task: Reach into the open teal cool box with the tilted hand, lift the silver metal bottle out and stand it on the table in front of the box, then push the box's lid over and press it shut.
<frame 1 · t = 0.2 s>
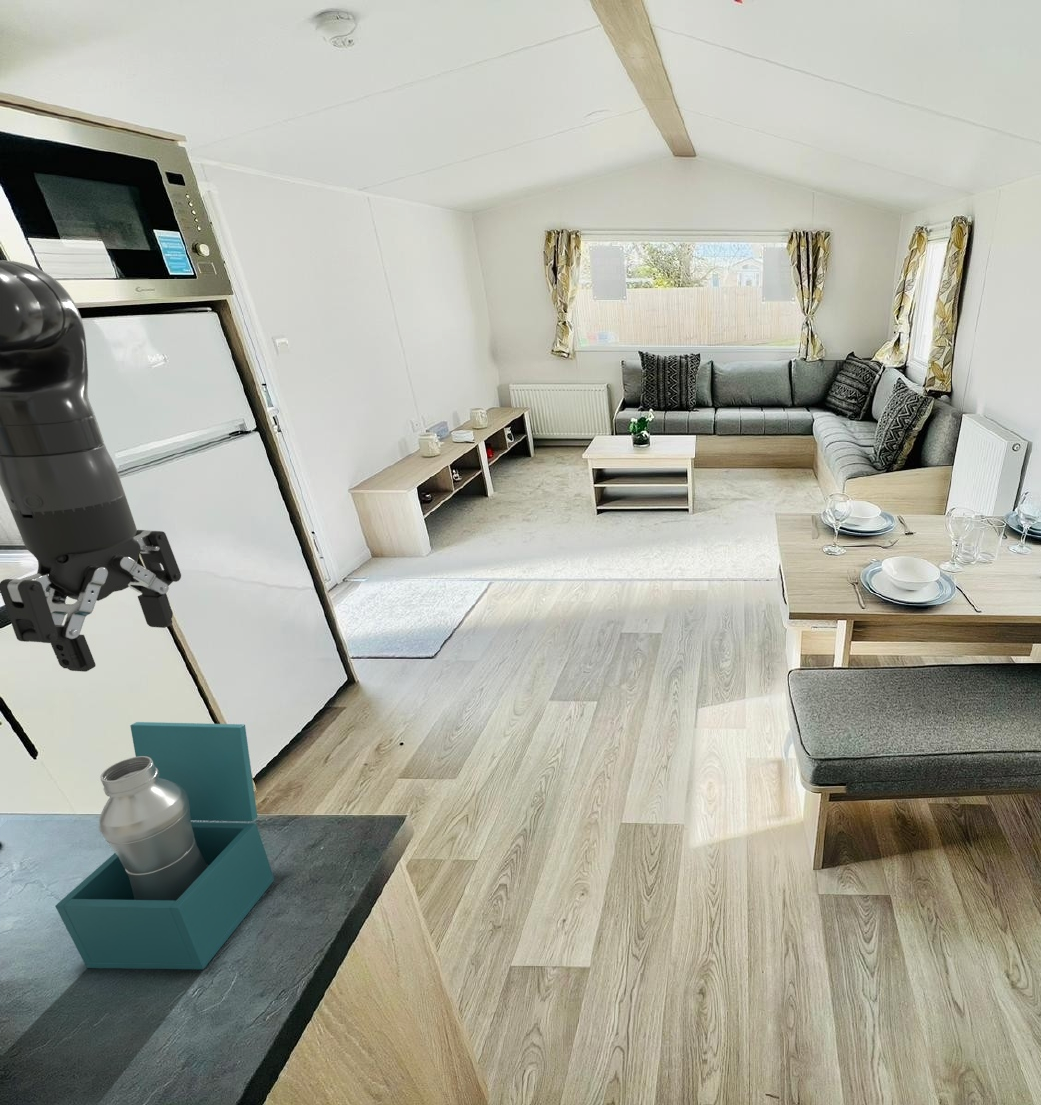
hand: (123, 646, 63), 30 cm above the counter, tool pointing down, fingers open, 8 cm apart
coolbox: (187, 920, 67), on the counter
silver metal bottle: (186, 916, 67), point 1 cm above the counter, touching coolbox
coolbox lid: (195, 772, 68), point 15 cm above the counter, hinge at 100.0°
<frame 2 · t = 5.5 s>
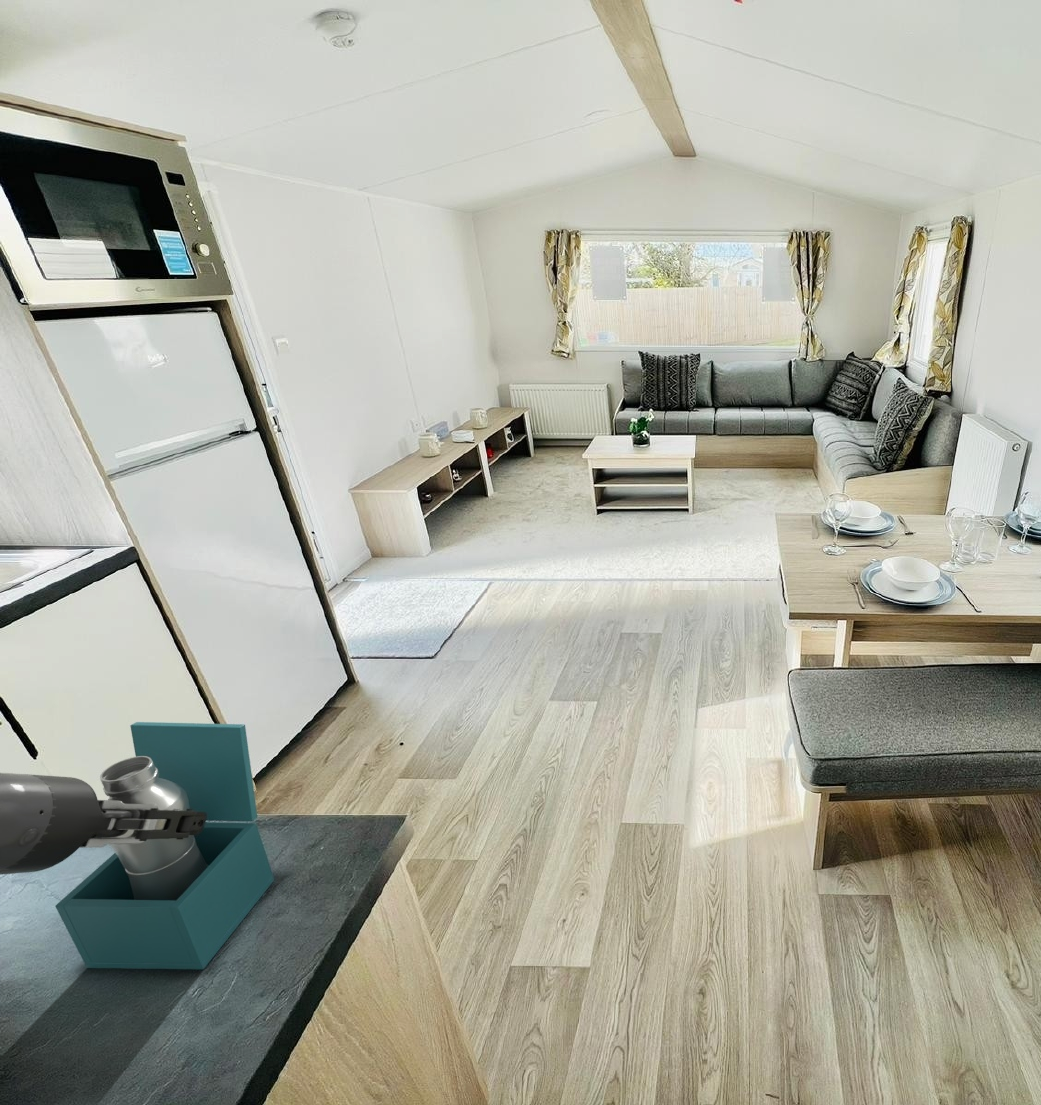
hand: (166, 822, 64), 12 cm above the counter, tool tilted 45°, fingers closed on silver metal bottle, 6 cm apart
silver metal bottle: (186, 916, 67), point 1 cm above the counter, touching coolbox, gripper
everything else where it was.
when the fingers open (12 cm above the counter, at t = 16.1 s): silver metal bottle stays where it is, on the counter.
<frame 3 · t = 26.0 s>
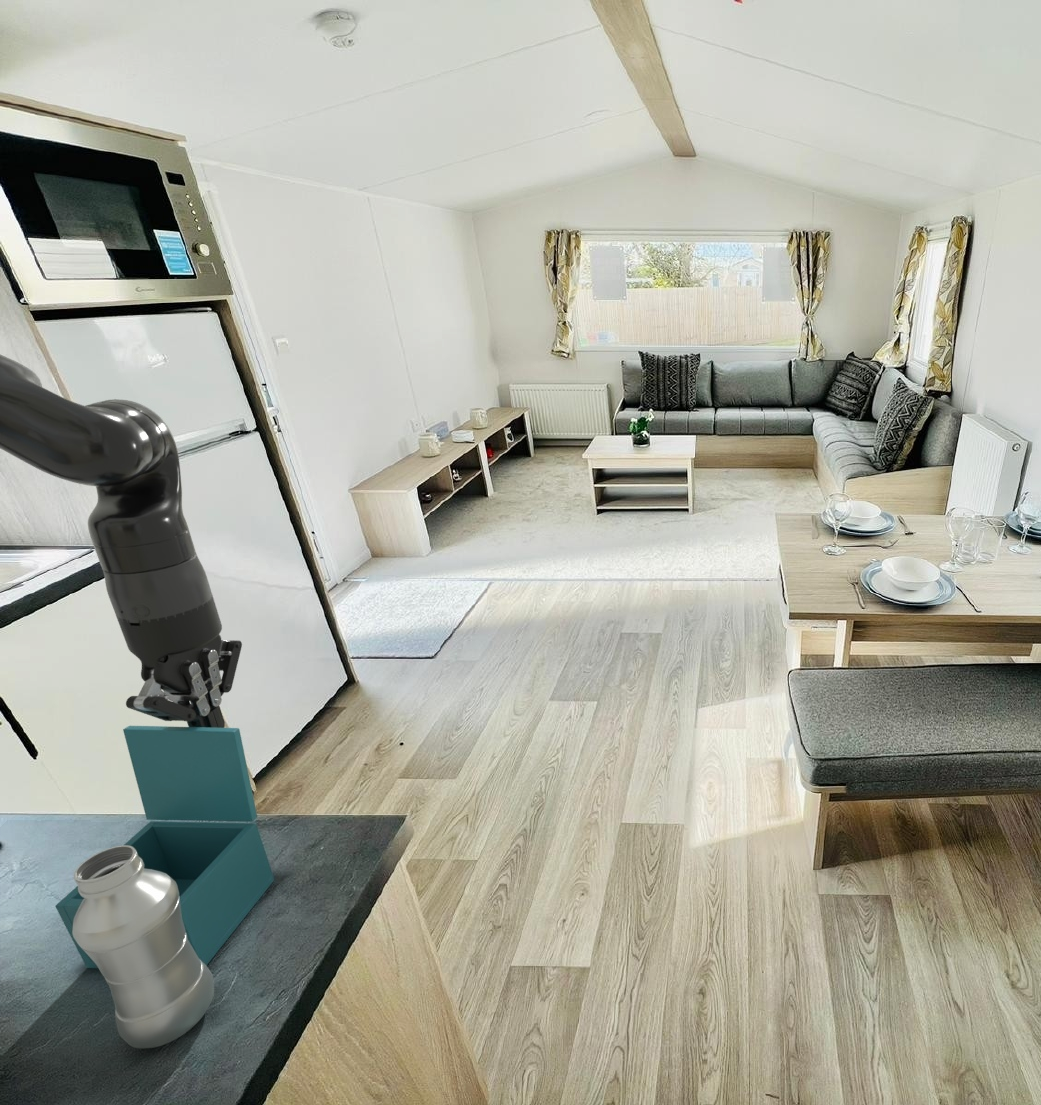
hand: (211, 737, 70), 17 cm above the counter, tool pointing down, fingers closed
silver metal bottle: (176, 1022, 58), on the counter
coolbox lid: (192, 774, 67), point 15 cm above the counter, hinge at 95.8°, touching gripper
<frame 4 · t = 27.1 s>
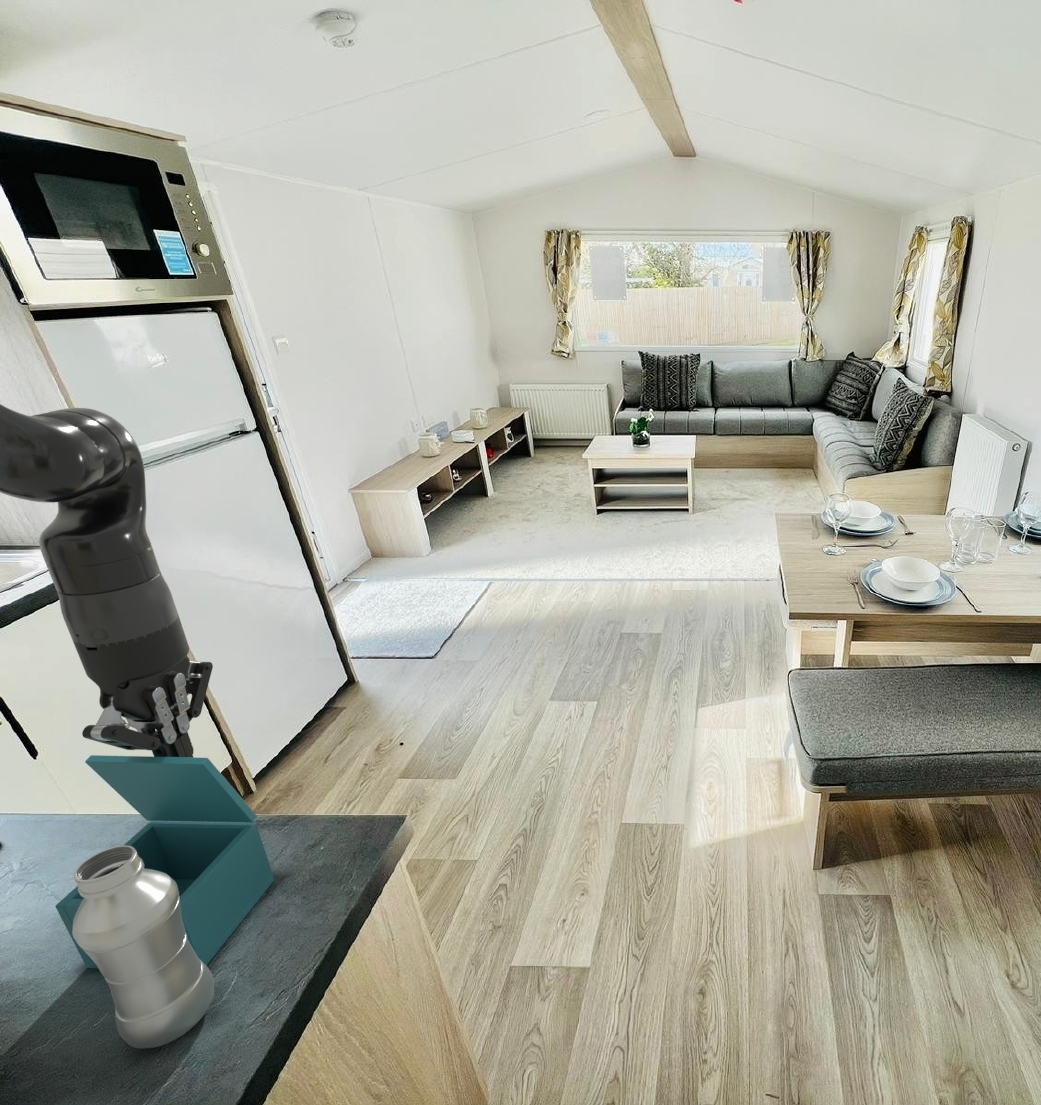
hand: (178, 765, 66), 17 cm above the counter, tool pointing down, fingers closed
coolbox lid: (176, 790, 65), point 15 cm above the counter, hinge at 73.4°, touching gripper
everything else where it was.
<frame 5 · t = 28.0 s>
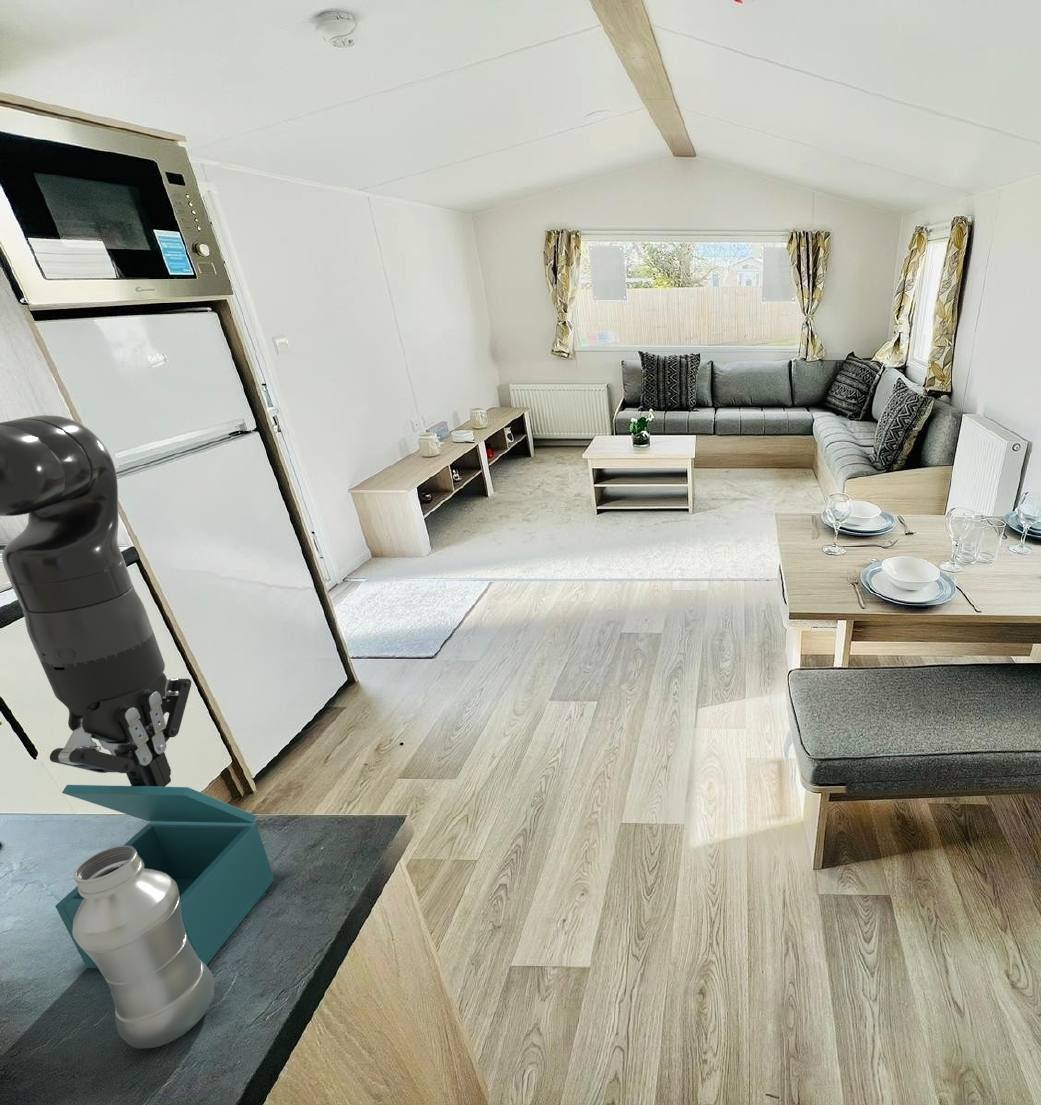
hand: (155, 787, 63), 17 cm above the counter, tool pointing down, fingers closed
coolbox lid: (166, 805, 64), point 14 cm above the counter, hinge at 57.9°, touching gripper
everything else where it was.
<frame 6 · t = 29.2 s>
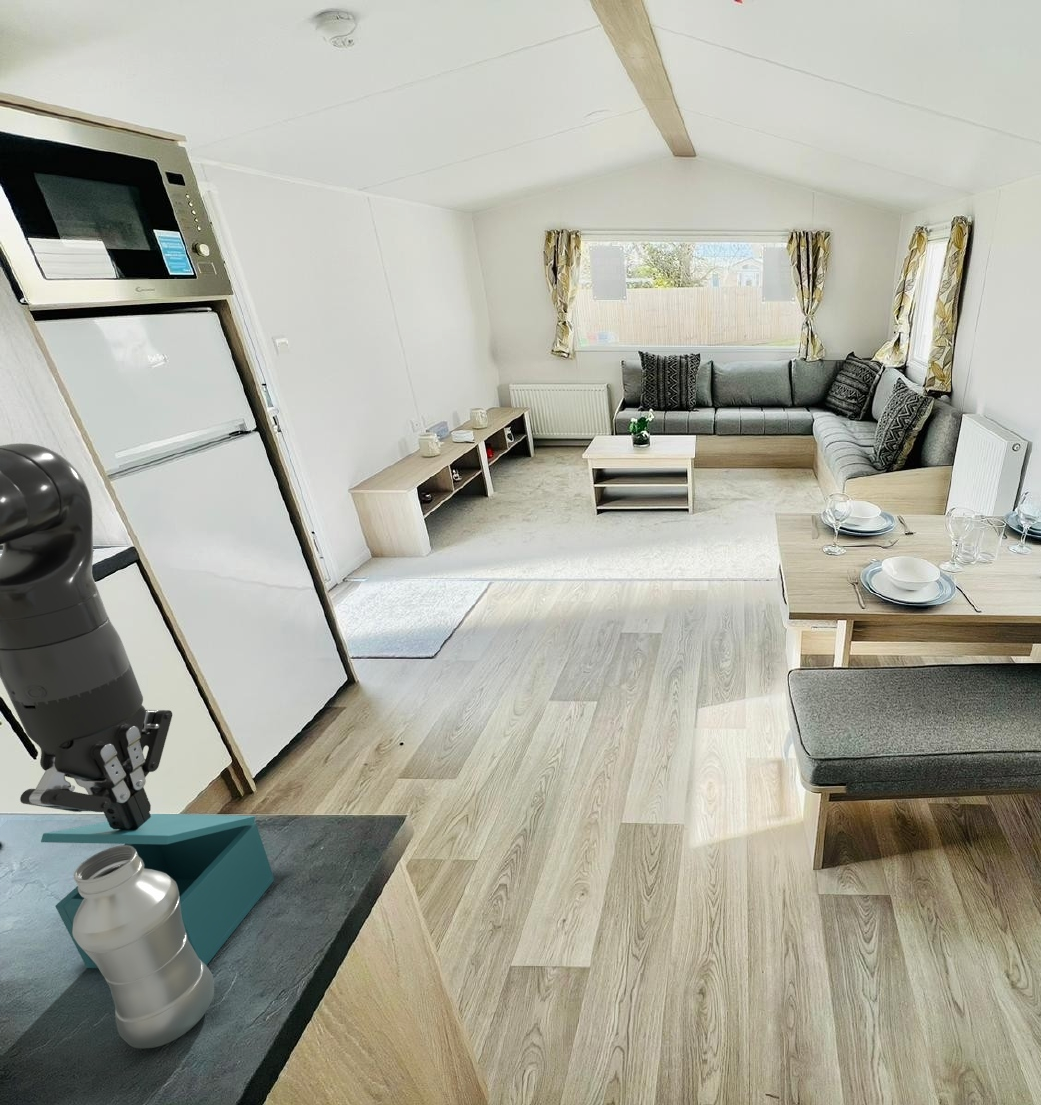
hand: (134, 824, 61), 15 cm above the counter, tool pointing down, fingers closed
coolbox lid: (157, 827, 63), point 13 cm above the counter, hinge at 36.0°
everything else where it was.
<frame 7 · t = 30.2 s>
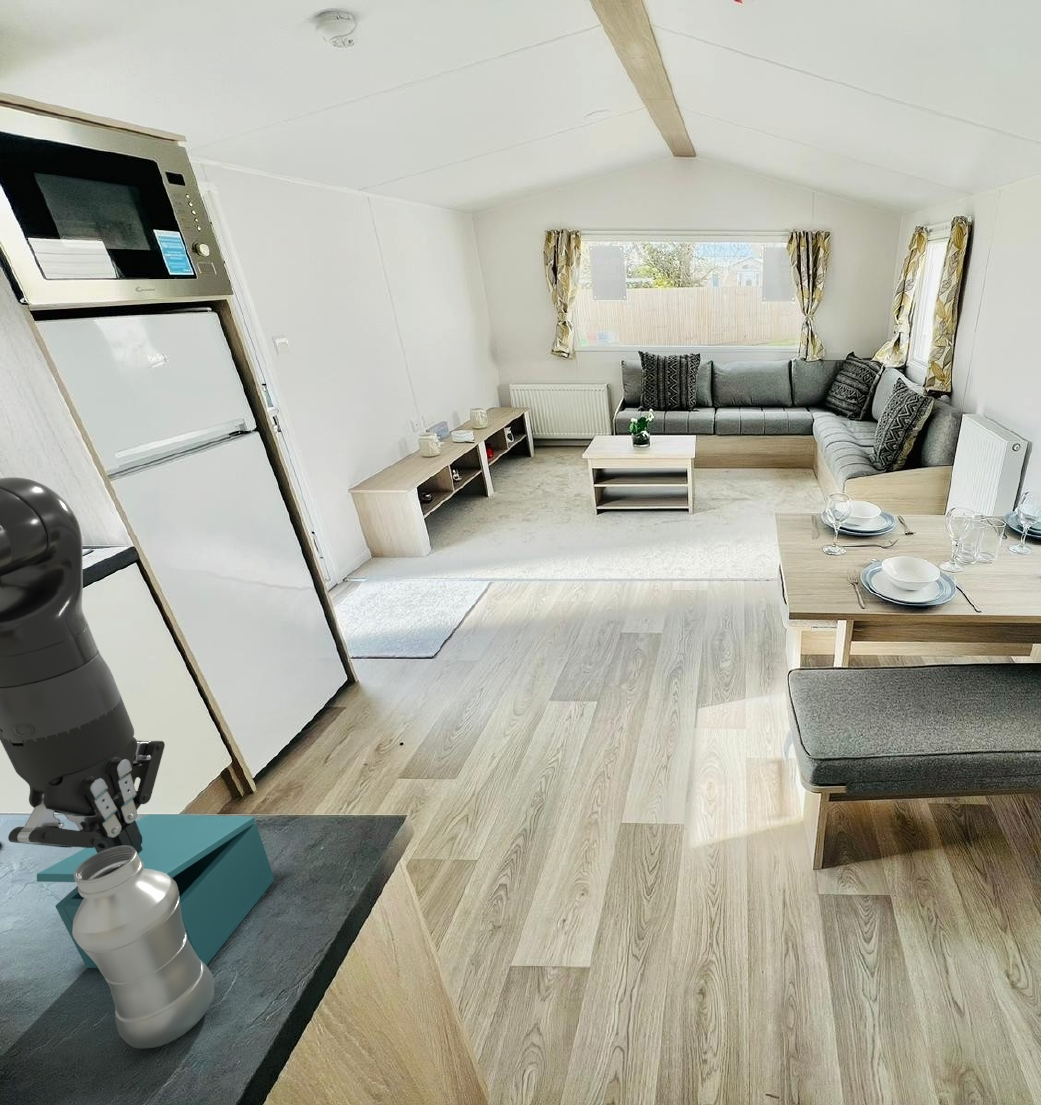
hand: (125, 857, 60), 13 cm above the counter, tool pointing down, fingers closed
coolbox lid: (155, 846, 63), point 11 cm above the counter, hinge at 17.8°
everything else where it was.
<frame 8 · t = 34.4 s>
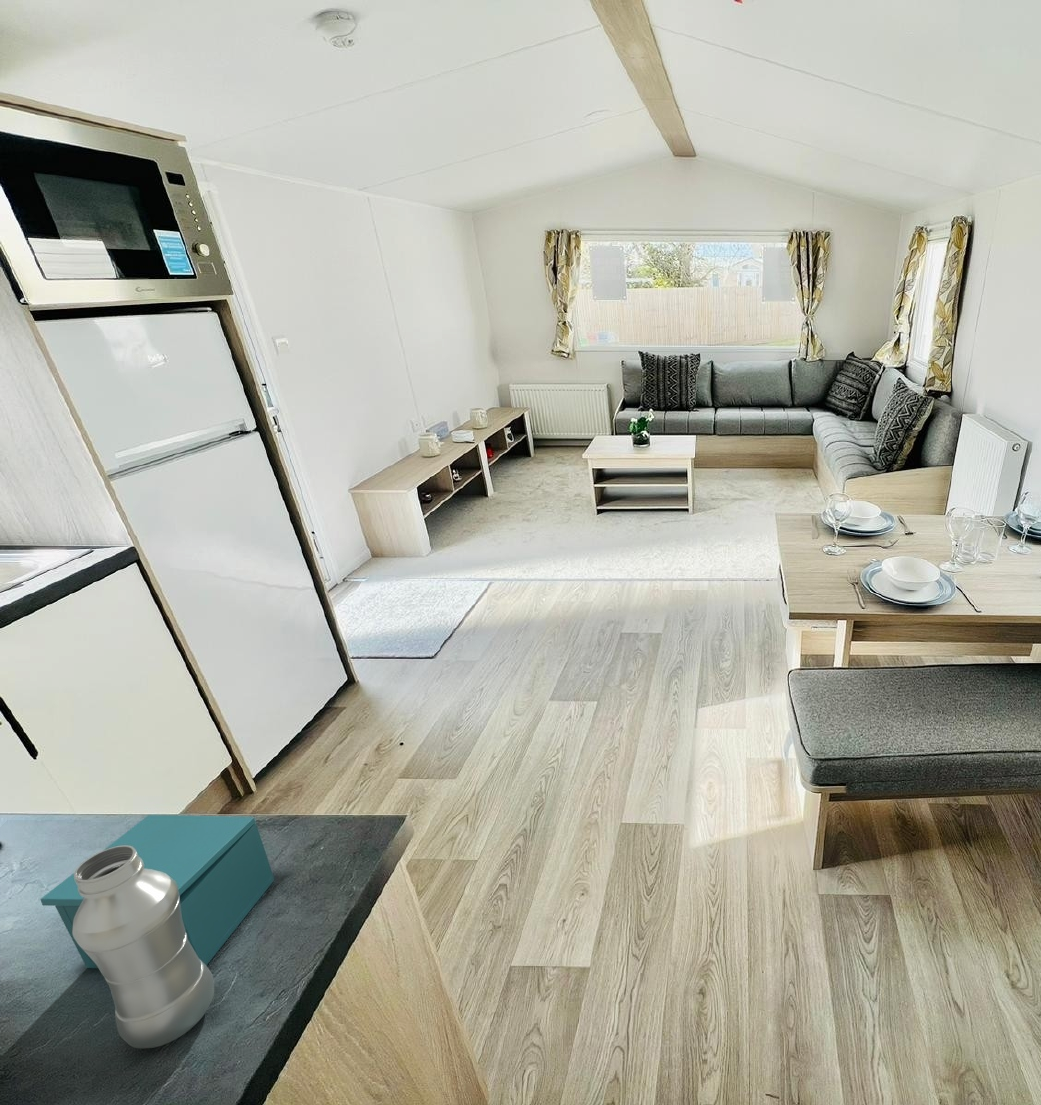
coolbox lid: (157, 857, 63), point 10 cm above the counter, hinge at 4.7°
everything else where it was.
at the end: silver metal bottle inside the target area (0.1 cm from its centre), on the counter; silver metal bottle tilted 0°; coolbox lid at +5° (first picture: +100°) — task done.
